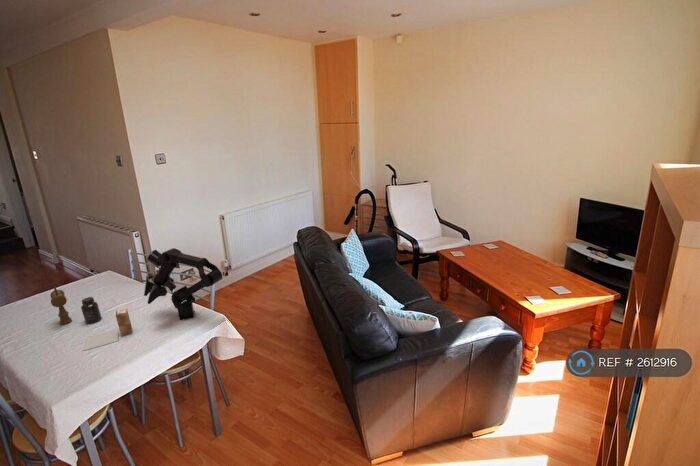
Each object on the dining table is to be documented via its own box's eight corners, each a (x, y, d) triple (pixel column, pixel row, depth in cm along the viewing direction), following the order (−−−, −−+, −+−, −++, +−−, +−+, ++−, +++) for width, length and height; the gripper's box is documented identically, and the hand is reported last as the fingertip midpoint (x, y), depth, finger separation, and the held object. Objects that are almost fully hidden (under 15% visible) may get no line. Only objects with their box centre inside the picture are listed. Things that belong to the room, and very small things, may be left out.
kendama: (59, 328, 177) (47, 291, 170) (57, 320, 184) (45, 284, 177) (74, 323, 181) (62, 287, 174) (72, 316, 187) (61, 281, 181)
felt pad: (118, 328, 175) (118, 328, 175) (118, 341, 165) (117, 340, 165) (85, 337, 169) (85, 336, 169) (83, 351, 159) (83, 350, 159)
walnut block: (132, 328, 175) (126, 308, 171) (132, 333, 171) (126, 312, 167) (121, 331, 173) (115, 310, 169) (121, 336, 169) (115, 315, 165)
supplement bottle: (105, 316, 186) (99, 295, 182) (94, 324, 179) (88, 302, 176) (92, 316, 187) (86, 295, 183) (82, 324, 180) (75, 302, 176)
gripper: (184, 284, 176) (166, 313, 175) (175, 271, 190) (158, 297, 189) (162, 276, 169) (143, 305, 167) (155, 262, 183) (137, 289, 181)
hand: (146, 299), depth 176 cm, fingers open, 9 cm apart
